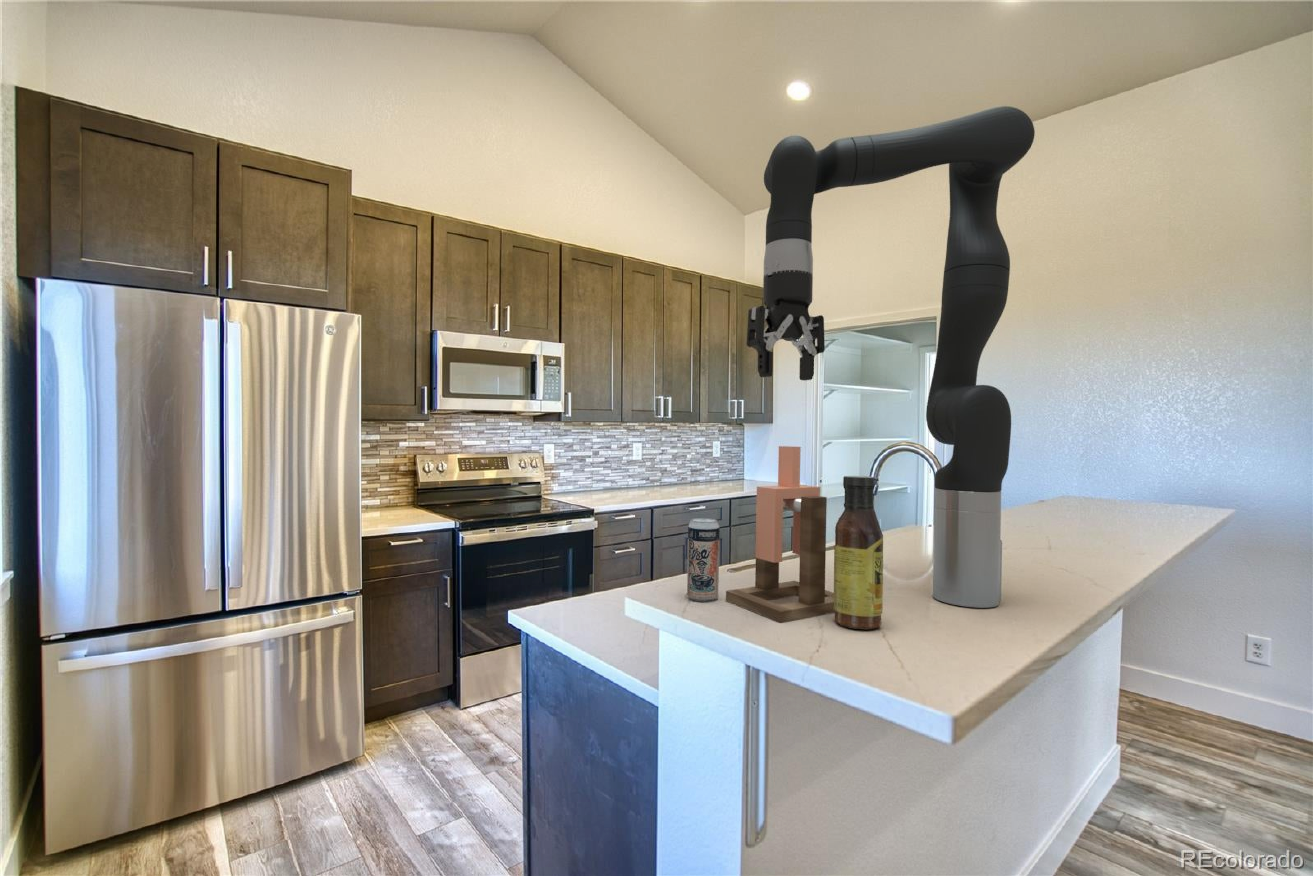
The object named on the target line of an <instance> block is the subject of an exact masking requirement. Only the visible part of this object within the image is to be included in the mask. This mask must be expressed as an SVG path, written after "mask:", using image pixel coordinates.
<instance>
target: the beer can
mask: <svg viewBox="0 0 1313 876" xmlns="http://www.w3.org/2000/svg"><path fill="white" fill-rule="evenodd" d="M689 521H690V522H689V524H688V527H687V575H686V578H687V579H686V581H687V583H686V584H687V585H686V595H687V597H689V598H690V599H691V600H692V601H696V602H711V601H714V600H715V599H716V598H718V597H719V582H720V581H719V579H720V577H719V576H720V571H719V570H720V525H719V522H718V520H717V519H715V518H708V517H706V518H703V517H700V518H698V517H697V518H692V519H690V520H689Z"/></svg>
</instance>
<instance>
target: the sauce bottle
mask: <svg viewBox="0 0 1313 876" xmlns="http://www.w3.org/2000/svg"><path fill="white" fill-rule="evenodd" d="M842 481H843V484H842V485H843V489H844V503H843V507H844V511H842V514H841V515H840V517H838V519H837V521H836V523H835V528H834V532H835V534H834V535H835V536H834V537H835V539H834V540H835V543H834V549H833V555H834V556H833V557H834V559H833V566H834V567H833V593H834V610H835V612H834V615H833V616H834V617H833V618H834V621H835V622H836V623H837V624H838V625H840V626H843V627H845V628H849V629H854V630H867V631H868V630H874V629H877V628H879V627H880V626H881V624H882V615H883V608H884V607H883V602H884V601H883V600H884V599H883V597H884V596H883V594H884V591H883V590H884V589H883V587H884V585H883V584H884V535H883V532H882V531H883V530H882V529H881V526H880V522H879V519H878V517H877V514H876V512H875V508H874V507H875V505H874V489H875V487H876V478H875V476H868V475H844V476H843V480H842Z"/></svg>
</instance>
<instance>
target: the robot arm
mask: <svg viewBox="0 0 1313 876" xmlns="http://www.w3.org/2000/svg"><path fill="white" fill-rule="evenodd" d="M1035 130H1036V129H1035V126H1034V123H1033V121H1032V119H1031V118H1030V116H1029V115H1028V114H1027V113H1026V112H1025V111H1023V110H1021V109H1019V108H1017V107H1013V106H997V107H992V108H989V109H985V110H981V111H979V112H978V111H977V112H976V113H975V112H974V113H972V114H971V113H970V114H968V115H964V116H960V117H959V118H954V119H950V120H945V121H942V122H941V121H940V122H937V123H933V124H930V125H925V126H921V127H920V126H919V127H915V128H914V127H913V128H910V129H906V130H904V129H903V130H899V131H893V132H886V133H885V132H884V133H877V134H869V135H860V136H859V135H857V136H852V137H851V136H850V137H849V136H848V137H842V138H838V139H836V140H834V141H832V142H830V144H828V145H827V146H826V147H824V148H823V149H820V150H816V149H815V147H814V145H813V144H812V142H811V141H810V140H808V139H807V138H806V137H804V136H801V135H790V136H786V137H784V138H783V139H782V140H780V141H779V142H778V143H777V144H776V145H775V147H774V148H773V149H772V152H771V154H770V157H769V159H768V161H767V164H766V167H765V170H764V173H763V183H764V187H765V188H766V191H767V192H768V194H770V205H769V208H768V213H767V214H766V223H765V251H764V257H763V276H762V277H763V281H762V282H763V283H762V284H763V285H762V286H763V287H762V288H763V289H762V303H763V305H758V306H755V307H751V308H749V310H748V312H747V313H748V314H747V329H746V330H747V331H746V346H747V347H748V348H752V349H754V350H755V351H756V352H757V373H758V374H759V375H758V376H759V377H760V378H771V377H772V376H773V372H774V371H773V367H774V366H773V361H774V359H773V358H774V352H773V351H772V350H773V348H774V347H775V344H776V343H777V342H778V341H780V340H783V341H786V342H791V344H792V345H793V347H795V348H796V349H797V351H798V352H799V353H798V354H799V355H800V357H799V380H800V381H804V382H805V381H811V380H812V379H813V378H814V375H815V356H816V355H819V354H823V353H824V352H825V351H826V349H825V347H826V346H825V318H824V316H823V315H821V314H820V315H816V316H811V315H810V314H809V308H810V305H811V304H812V303H813V279H814V277H813V275H814V271H813V270H814V257H813V248H812V246H813V245H812V243H813V242H812V241H813V240H812V239H813V237H812V236H813V234H812V233H813V223H812V212H813V211H812V210H813V205H814V198H815V195H817V194H821V193H823V192H827V191H829V190H833V189H836V188H845V187H846V188H847V187H857V186H864V185H866V186H867V185H873V184H878V183H882V182H883V183H884V182H887V181H890V180H894V179H899V178H902V177H905V176H907V175H911V174H913V173H916V172H919V171H921V170H926V169H929V168H933V167H938V166H942V165H948V180H949V181H948V183H949V220H948V221H949V222H948V229H947V240H946V249H945V250H946V251H945V261H944V267H943V278H942V289H941V290H942V292H941V306H940V308H941V309H940V319H939V327H938V328H939V329H938V336H937V337H938V338H937V347H936V355H935V360H934V361H935V362H934V369H933V372H932V378H931V382H930V387H929V393H928V397H927V403H926V411H925V419H926V425H927V428H928V430H929V433H930V434H931V436H932V437H933V438H934V440H935V441H937V442H938V443H941V444H945V445H948V446H949V445H950V446H953V449H952V454H951V458H950V460H949V461H948V462H947V464H946V465H944V466H942V467H941V468H939V469H937V470H936V472H935V476H934V494H933V495H934V496H933V499H934V500H933V505H934V506H933V507H934V509H933V549H932V550H933V554H932V557H933V559H932V567H933V568H932V597H933V598H934V599H936V600H937V601H939V602H942V603H946V604H950V605H953V606H954V605H955V606H960V607H967V608H981V609H983V608H994V607H998V606H999V604H1000V601H1002V577H1003V576H1002V570H1003V569H1002V568H1003V566H1002V565H1003V564H1002V563H1003V541H1002V539H1001V533H1002V532H1001V530H1002V529H1001V528H1002V527H1001V526H1002V525H1001V524H1002V487H1003V485H1002V484H1003V480H1004V478H1005V476H1006V474H1007V471H1008V469H1009V461H1010V460H1009V458H1010V446H1011V435H1012V434H1011V433H1012V412H1011V406H1010V403H1009V401H1008V398H1007V397H1006V395H1005V394H1004V393H1003V392H1002V391H1001V390H1000V389H999V388H997V387H995V386H992V385H989V384H988V385H987V384H977V381H978V380H977V378H978V371H979V363H980V360H981V356H982V353H983V352H984V349H985V347H986V345H987V343H988V341H989V339H991V336H992V334H993V332H994V331H995V328H996V327H997V325H998V323H999V321H1000V319H1001V317H1002V314H1003V312H1004V310H1005V307H1006V306H1007V300H1008V294H1009V285H1010V284H1009V283H1010V275H1011V274H1010V273H1011V261H1010V260H1011V259H1010V258H1011V257H1010V252H1009V248H1008V246H1007V243H1006V239H1004V235H1003V233H1002V231H1001V229H1000V226H999V223H998V217H997V207H998V200H999V199H998V198H999V190H1000V185H1001V180H1002V178H1003V175H1004V174H1005V173H1007V172H1009V170H1010V169H1012V168H1013V167H1014V166H1016V165H1017V164H1018V163H1019V162H1020V161H1021V160H1022V159H1023V158H1024V157H1025V156H1026V155H1027V154H1028V152H1029V151H1030V150H1031V147H1032V145H1033V143H1034V139H1035V136H1036V135H1035ZM765 323H766V327H765Z"/></svg>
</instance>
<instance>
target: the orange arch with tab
mask: <svg viewBox="0 0 1313 876" xmlns="http://www.w3.org/2000/svg"><path fill="white" fill-rule="evenodd" d="M801 448H802V447H801V446H790V445H788V446H786V445H785V446H784V445H783V446H781V445H779V446H778V461H777V462H778V466H777V467H778V472H777V473H778V474H777V485H767V486H766V485H762V486H756V505H755V506H756V509H755V510H756V514H755V515H756V517H755V519H756V520H755V525H756V526H755V556H754V557H755V559H756V558H759V559H763V560H766V561H770V562H773V563H776V562H779V563H782V562H783V532H784V530H783V528H784V527H783V526H784V525H783V524H784V510H783V499H793V498H800V499H801V497H803V496H821V487H820V486H814V485H805V484H801ZM792 512H793V513H792V554H795V555H798V556H800V519H801V512H795V511H792Z"/></svg>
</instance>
